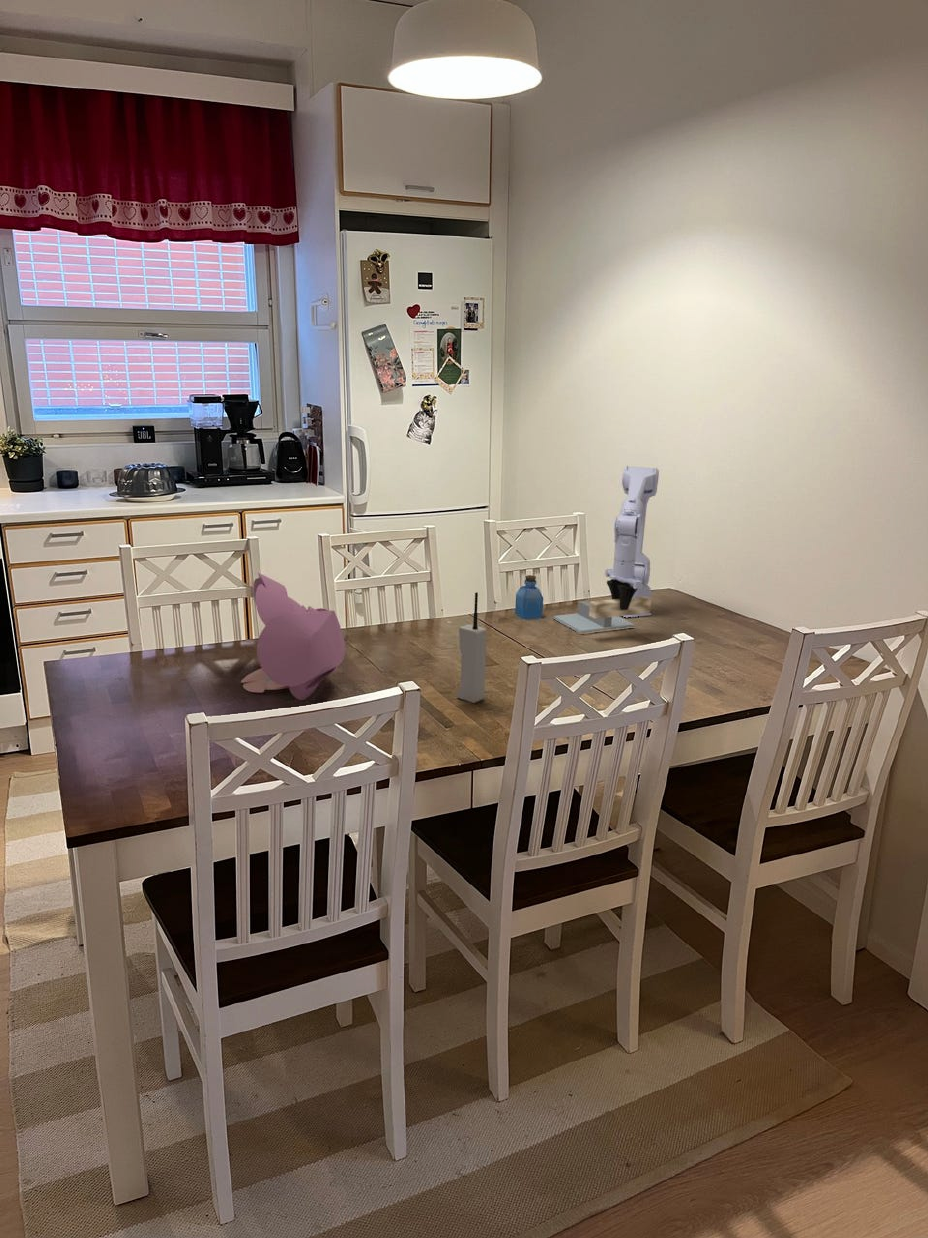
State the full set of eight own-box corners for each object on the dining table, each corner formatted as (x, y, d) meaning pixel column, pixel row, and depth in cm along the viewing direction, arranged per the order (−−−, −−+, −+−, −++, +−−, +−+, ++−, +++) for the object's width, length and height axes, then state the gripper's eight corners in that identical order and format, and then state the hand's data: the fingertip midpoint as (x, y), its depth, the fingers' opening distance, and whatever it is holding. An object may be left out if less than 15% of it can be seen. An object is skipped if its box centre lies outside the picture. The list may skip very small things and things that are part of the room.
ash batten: (643, 609, 258) (645, 596, 257) (650, 612, 255) (651, 599, 254) (589, 615, 250) (590, 601, 249) (595, 618, 248) (596, 604, 247)
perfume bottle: (515, 613, 273) (517, 574, 270) (534, 612, 275) (536, 573, 272) (522, 619, 268) (524, 579, 264) (542, 618, 269) (544, 578, 266)
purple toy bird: (227, 686, 223) (194, 576, 215) (315, 654, 234) (287, 547, 225) (277, 724, 194) (242, 598, 185) (376, 685, 205) (346, 564, 196)
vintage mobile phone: (467, 693, 210) (470, 588, 203) (484, 699, 207) (488, 592, 200) (456, 698, 208) (460, 591, 200) (473, 703, 205) (478, 595, 197)
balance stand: (605, 614, 276) (606, 598, 274) (634, 628, 263) (636, 611, 261) (553, 619, 268) (554, 603, 267) (580, 634, 255) (582, 617, 254)
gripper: (597, 554, 253) (593, 602, 257) (627, 566, 240) (623, 616, 244) (618, 552, 256) (614, 599, 260) (649, 564, 243) (645, 613, 247)
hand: (620, 607), depth 252 cm, fingers closed on ash batten, 3 cm apart
